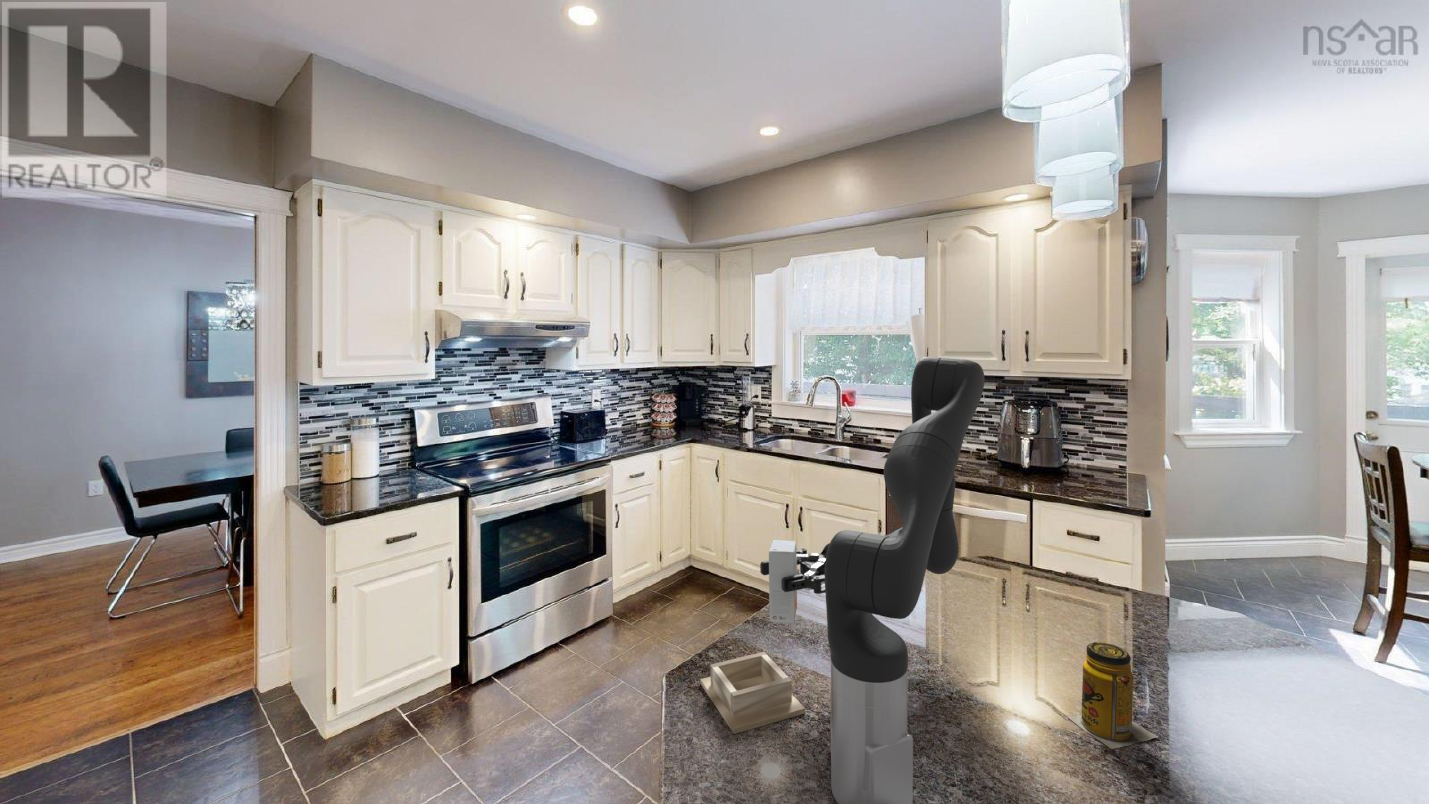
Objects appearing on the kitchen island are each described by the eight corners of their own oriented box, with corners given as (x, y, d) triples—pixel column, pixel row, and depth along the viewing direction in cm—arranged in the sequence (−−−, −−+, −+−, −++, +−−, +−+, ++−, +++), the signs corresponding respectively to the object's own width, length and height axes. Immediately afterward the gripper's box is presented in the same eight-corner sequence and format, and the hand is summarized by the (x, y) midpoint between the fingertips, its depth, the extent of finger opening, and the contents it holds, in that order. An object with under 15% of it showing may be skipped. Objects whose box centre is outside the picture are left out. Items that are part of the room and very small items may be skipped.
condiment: (1066, 718, 85) (1068, 641, 84) (1111, 708, 87) (1114, 633, 86) (1111, 750, 78) (1114, 667, 77) (1159, 739, 80) (1162, 658, 79)
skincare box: (795, 624, 92) (794, 552, 91) (769, 622, 92) (767, 551, 91) (797, 608, 97) (796, 540, 96) (773, 606, 98) (771, 539, 97)
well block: (804, 713, 87) (804, 686, 87) (733, 734, 83) (733, 706, 82) (763, 667, 100) (763, 644, 100) (700, 683, 96) (699, 659, 95)
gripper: (831, 529, 106) (752, 541, 100) (880, 553, 93) (792, 569, 87) (832, 568, 107) (753, 583, 100) (881, 597, 93) (793, 616, 87)
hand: (771, 576), depth 94 cm, fingers closed on skincare box, 7 cm apart
